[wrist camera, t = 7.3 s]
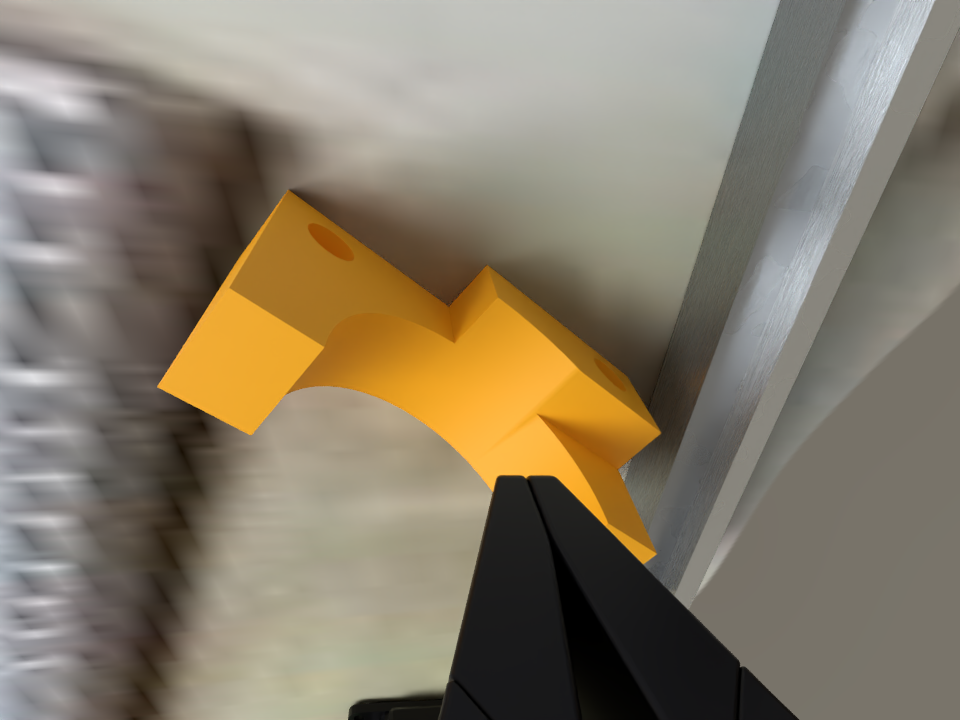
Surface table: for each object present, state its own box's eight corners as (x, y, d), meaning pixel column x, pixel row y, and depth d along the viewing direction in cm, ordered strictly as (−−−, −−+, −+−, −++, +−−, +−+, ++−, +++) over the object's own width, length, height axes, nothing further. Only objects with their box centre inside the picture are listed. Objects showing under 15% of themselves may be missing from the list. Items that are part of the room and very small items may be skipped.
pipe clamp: (626, 374, 20) (710, 513, 15) (538, 453, 21) (585, 608, 16) (327, 135, 15) (284, 210, 10) (238, 259, 16) (157, 387, 11)
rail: (651, 540, 24) (686, 614, 21) (605, 540, 24) (634, 615, 21) (956, -263, 12) (1134, -348, 9) (872, -284, 12) (1028, -378, 9)
